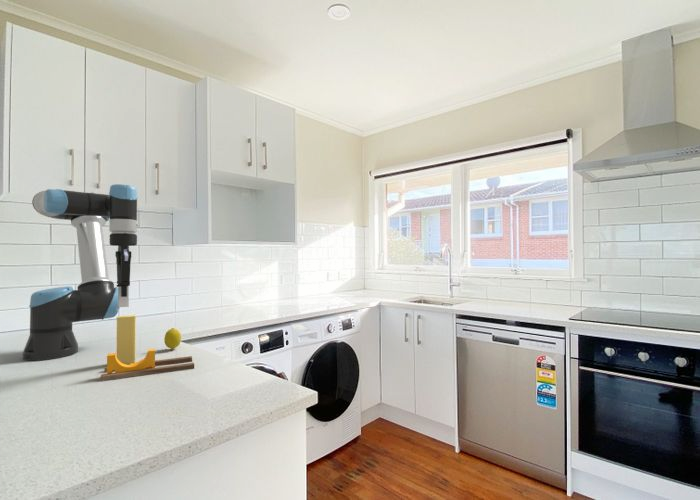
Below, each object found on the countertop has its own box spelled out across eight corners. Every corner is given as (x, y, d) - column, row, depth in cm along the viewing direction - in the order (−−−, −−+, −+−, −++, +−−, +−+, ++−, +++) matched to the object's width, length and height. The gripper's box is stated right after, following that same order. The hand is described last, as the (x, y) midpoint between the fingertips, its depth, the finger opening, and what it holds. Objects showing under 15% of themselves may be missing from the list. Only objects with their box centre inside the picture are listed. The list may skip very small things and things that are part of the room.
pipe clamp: (154, 368, 113) (155, 347, 113) (154, 372, 109) (155, 350, 110) (108, 374, 108) (108, 352, 108) (106, 378, 104) (107, 355, 104)
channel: (105, 370, 111) (105, 366, 111) (191, 359, 122) (191, 356, 122) (100, 380, 101) (100, 376, 101) (194, 368, 113) (194, 364, 113)
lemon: (172, 352, 132) (172, 329, 132) (160, 350, 134) (160, 328, 134) (184, 348, 137) (184, 326, 137) (172, 347, 139) (172, 326, 139)
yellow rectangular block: (117, 362, 120) (117, 316, 120) (135, 360, 122) (135, 314, 122) (116, 365, 116) (116, 317, 117) (134, 362, 119) (134, 316, 119)
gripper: (140, 232, 116) (140, 307, 115) (133, 234, 126) (133, 303, 125) (112, 231, 111) (112, 310, 110) (107, 234, 121) (106, 305, 121)
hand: (123, 306), depth 118 cm, fingers closed
